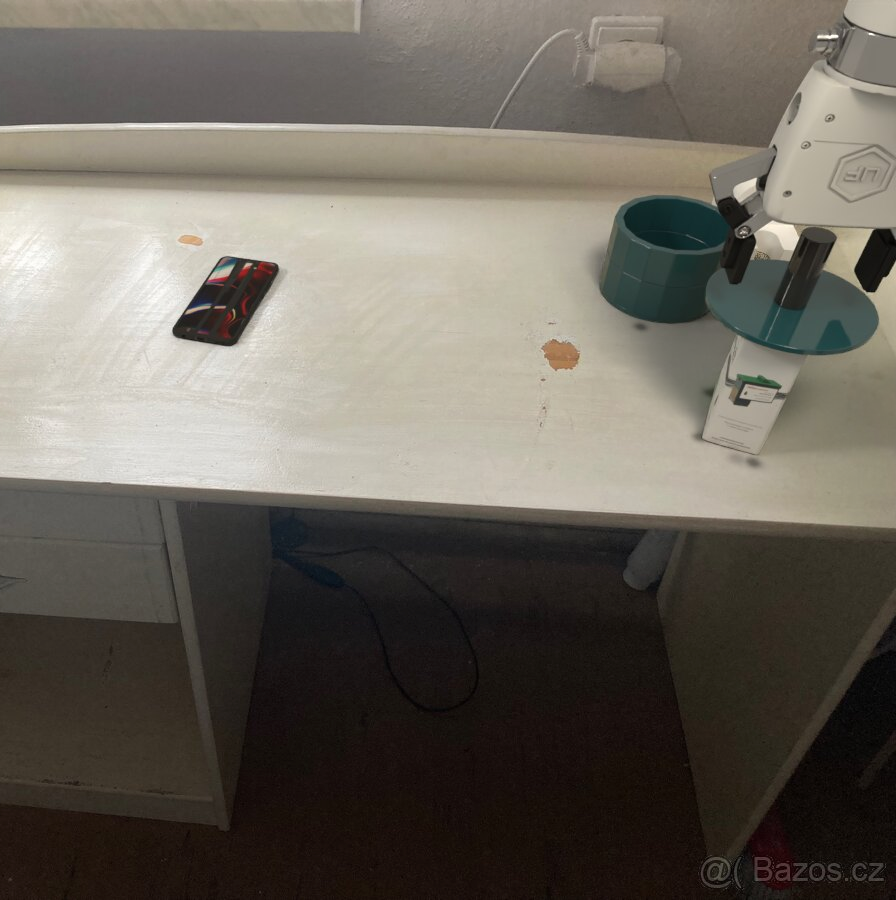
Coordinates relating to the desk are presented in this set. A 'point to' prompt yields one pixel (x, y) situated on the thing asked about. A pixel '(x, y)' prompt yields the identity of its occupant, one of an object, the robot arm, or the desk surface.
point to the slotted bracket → (768, 230)
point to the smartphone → (226, 300)
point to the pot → (663, 257)
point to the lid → (795, 302)
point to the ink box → (750, 395)
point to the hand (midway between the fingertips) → (796, 278)
